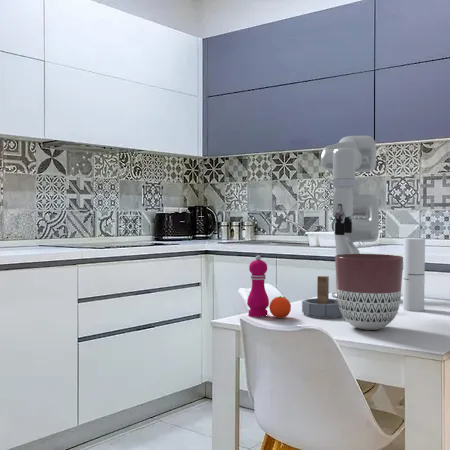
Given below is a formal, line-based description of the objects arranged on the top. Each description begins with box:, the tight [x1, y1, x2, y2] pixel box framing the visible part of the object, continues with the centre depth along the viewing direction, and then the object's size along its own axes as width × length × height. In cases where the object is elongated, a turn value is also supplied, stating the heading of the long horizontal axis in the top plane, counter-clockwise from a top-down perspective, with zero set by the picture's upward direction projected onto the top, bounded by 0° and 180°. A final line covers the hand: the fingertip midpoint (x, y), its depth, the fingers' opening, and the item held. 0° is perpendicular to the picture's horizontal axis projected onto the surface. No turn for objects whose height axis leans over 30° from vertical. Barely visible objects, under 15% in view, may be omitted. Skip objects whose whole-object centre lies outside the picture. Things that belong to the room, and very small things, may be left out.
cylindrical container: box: [402, 237, 426, 312], centre depth 205 cm, size 7×7×25 cm
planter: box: [334, 253, 404, 331], centre depth 172 cm, size 20×20×21 cm
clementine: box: [269, 295, 292, 319], centre depth 189 cm, size 8×7×7 cm
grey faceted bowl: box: [301, 297, 343, 319], centre depth 194 cm, size 13×13×4 cm
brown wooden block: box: [316, 275, 330, 304], centre depth 194 cm, size 3×3×12 cm
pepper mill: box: [246, 255, 270, 318], centre depth 192 cm, size 7×7×20 cm
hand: (343, 233), depth 201 cm, fingers open, 9 cm apart
